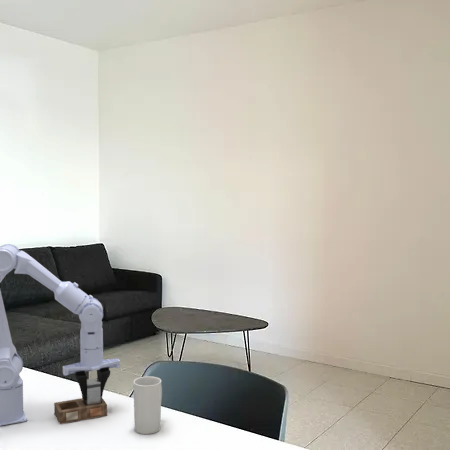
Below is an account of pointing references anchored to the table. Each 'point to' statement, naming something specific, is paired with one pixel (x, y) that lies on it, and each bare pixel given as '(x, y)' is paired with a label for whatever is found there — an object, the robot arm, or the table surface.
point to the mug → (147, 404)
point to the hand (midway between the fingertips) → (92, 397)
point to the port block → (78, 410)
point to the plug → (93, 392)
